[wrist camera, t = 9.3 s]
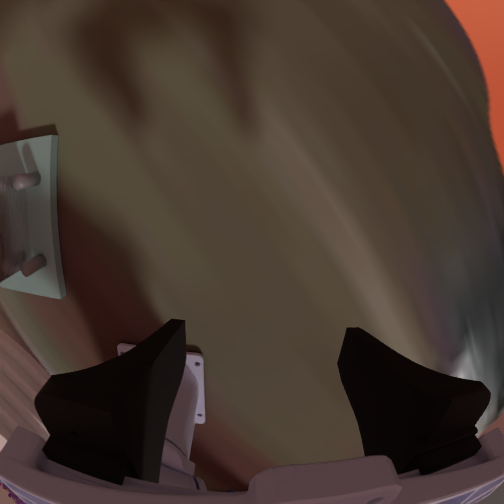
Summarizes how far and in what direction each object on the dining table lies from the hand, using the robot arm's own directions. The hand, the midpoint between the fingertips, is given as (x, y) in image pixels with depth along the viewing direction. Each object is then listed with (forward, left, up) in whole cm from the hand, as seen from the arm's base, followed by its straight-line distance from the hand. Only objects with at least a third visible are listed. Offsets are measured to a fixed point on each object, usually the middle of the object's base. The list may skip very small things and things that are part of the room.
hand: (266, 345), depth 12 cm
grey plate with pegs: (+3, +22, -10) cm, 24 cm away
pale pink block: (+3, +22, -9) cm, 24 cm away
